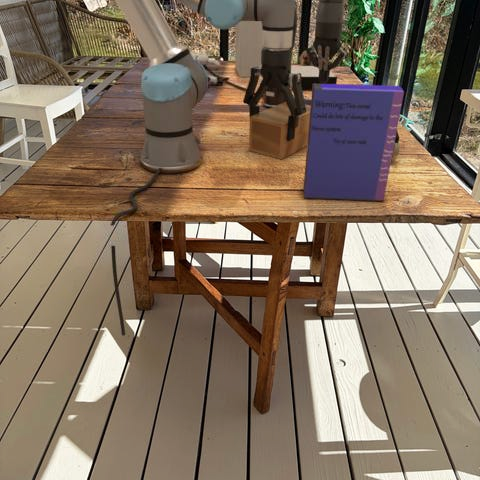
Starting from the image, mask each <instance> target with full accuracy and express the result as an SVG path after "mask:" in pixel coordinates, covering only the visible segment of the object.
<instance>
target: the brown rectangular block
mask: <svg viewBox="0 0 480 480" xmlns="http://www.w3.org/2000/svg"><path fill="white" fill-rule="evenodd" d="M305 106H306V113H304V114H302V115H299V122H298V127H297V128H295V138H294V139H292V140H290V141H287V131H288V116H289V115H291V113H290V110H289V108H288V106H287V103H286V102H284V103H282V104H279V105H277V106H274V107H272V108H268V109H265V110H262V111H259V113H257V114H255V115H253V116H250V117H249V133H248V134H249V135H248V136H249V137H248V151H250V152H253V153H256V154H261V155H262V156H263V155H264V156H268V157H271V158H275V159H278V160H284V159H286V158H288V157H289V156H291V155H293V154H294V153H296V152H299V151H300V150H302V149H303V148H305V147H307V142H308V131H309V120H310V109H311V106H310V105H305Z"/></svg>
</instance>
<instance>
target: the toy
mask: <svg viewBox="0 0 480 480" xmlns="http://www.w3.org/2000/svg"><path fill="white" fill-rule="evenodd" d="M190 53H191V55H192V57H193V59H194V60H196V61H198V62H199V63H200V64H201V65H202V66H203V67H204V65H206V66H207V65H209V64H214V65H215V67H216V66H217V67H218V68H219V67H220V66H221V63H220V62H219V60H216V59H215V58H209V56H208V55H207V54H204V53H203V52H202V51H199V52H198V53H195V52H192V51H190Z"/></svg>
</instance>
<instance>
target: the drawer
mask: <svg viewBox="0 0 480 480" xmlns="http://www.w3.org/2000/svg"><path fill="white" fill-rule="evenodd" d="M304 101H305V105H310V106H311V98H308V97H307V98H306V97H304Z"/></svg>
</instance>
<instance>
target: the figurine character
mask: <svg viewBox="0 0 480 480" xmlns="http://www.w3.org/2000/svg"><path fill="white" fill-rule="evenodd" d="M399 141H400V135H399V131H397V132H396V137H395V142H394V148H393V153H392V157H398V155H399V153H400V152H399V151H400V142H399Z"/></svg>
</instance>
